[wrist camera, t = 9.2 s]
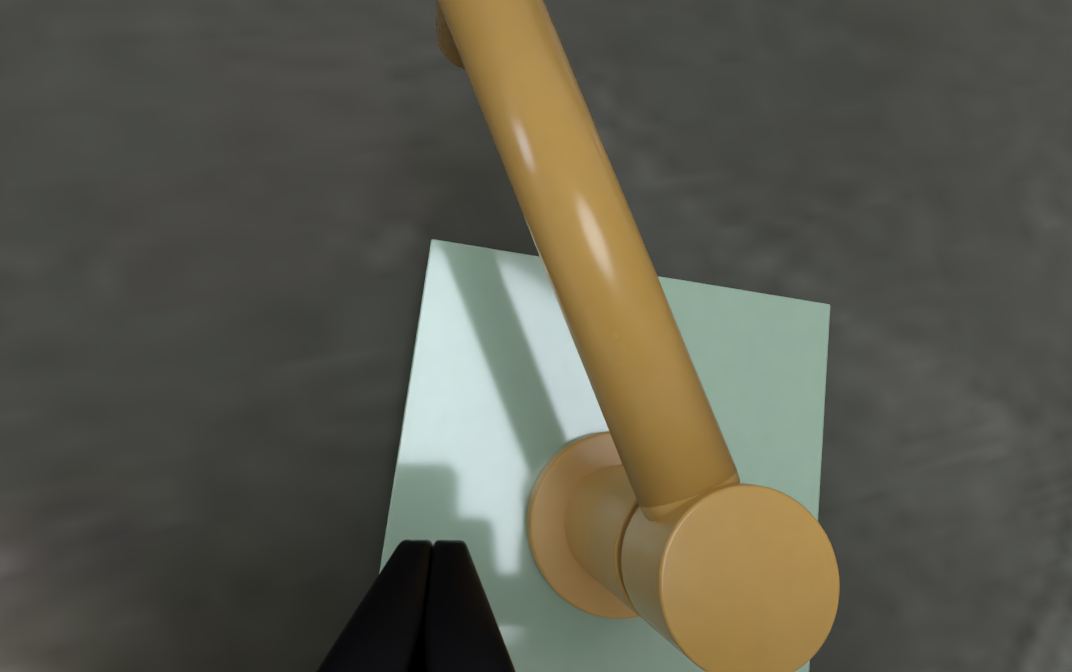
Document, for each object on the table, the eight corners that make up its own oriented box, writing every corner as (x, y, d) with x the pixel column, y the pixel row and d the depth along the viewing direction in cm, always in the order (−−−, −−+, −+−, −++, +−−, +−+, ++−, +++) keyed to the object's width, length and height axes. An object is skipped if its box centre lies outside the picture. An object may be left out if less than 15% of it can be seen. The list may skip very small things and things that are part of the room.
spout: (772, 590, 14) (870, 634, 11) (641, 654, 13) (704, 720, 10) (523, -17, 15) (548, -136, 12) (391, 17, 15) (381, -97, 11)
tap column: (727, 555, 19) (849, 603, 14) (578, 646, 18) (643, 739, 13) (646, 401, 19) (733, 387, 14) (494, 483, 19) (523, 503, 13)
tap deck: (774, 784, 20) (802, 812, 19) (352, 756, 18) (346, 784, 17) (804, 312, 22) (831, 304, 21) (430, 252, 21) (431, 238, 19)
